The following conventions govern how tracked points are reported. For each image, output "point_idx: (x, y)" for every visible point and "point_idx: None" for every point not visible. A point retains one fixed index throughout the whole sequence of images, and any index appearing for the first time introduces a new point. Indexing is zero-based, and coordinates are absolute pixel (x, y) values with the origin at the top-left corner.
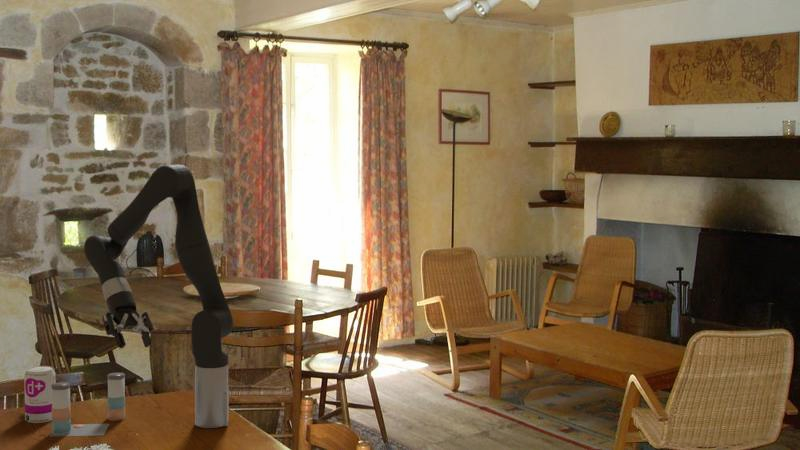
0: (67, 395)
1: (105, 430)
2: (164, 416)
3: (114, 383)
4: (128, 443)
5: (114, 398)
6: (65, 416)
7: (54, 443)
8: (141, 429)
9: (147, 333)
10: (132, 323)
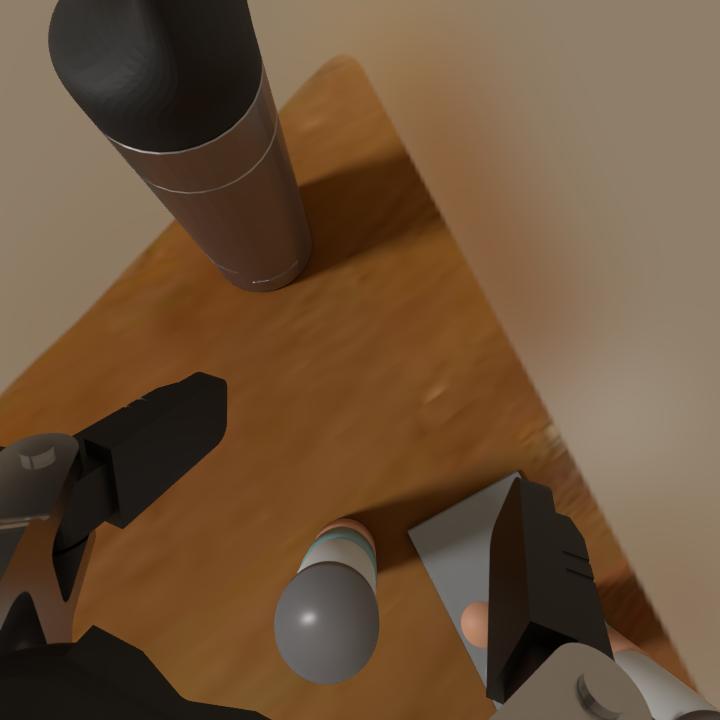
0: (677, 686)
1: (475, 497)
2: (246, 417)
3: (371, 586)
4: (521, 363)
5: (373, 561)
6: (619, 635)
7: (643, 589)
8: (393, 406)
9: (101, 431)
10: (108, 716)
